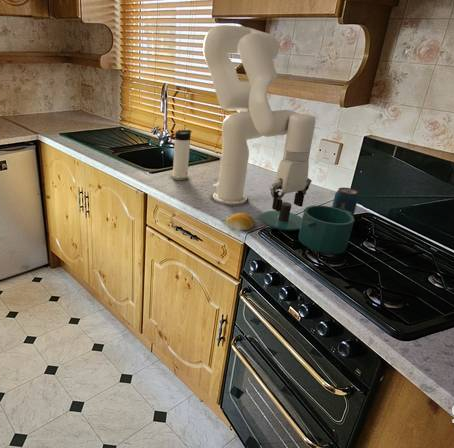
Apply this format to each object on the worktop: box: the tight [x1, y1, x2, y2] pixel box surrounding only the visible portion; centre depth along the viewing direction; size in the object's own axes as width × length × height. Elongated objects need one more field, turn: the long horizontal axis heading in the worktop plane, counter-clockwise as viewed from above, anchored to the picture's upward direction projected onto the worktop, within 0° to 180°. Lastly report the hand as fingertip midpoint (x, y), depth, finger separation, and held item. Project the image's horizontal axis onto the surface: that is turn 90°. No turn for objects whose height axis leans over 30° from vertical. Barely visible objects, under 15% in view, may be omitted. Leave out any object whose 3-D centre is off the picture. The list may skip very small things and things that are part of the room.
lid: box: [259, 201, 303, 232], centre depth 132 cm, size 15×15×7 cm
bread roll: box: [225, 212, 255, 231], centre depth 129 cm, size 8×9×4 cm
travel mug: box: [171, 129, 193, 181], centre depth 166 cm, size 6×7×20 cm
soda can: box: [331, 187, 359, 217], centre depth 132 cm, size 7×7×12 cm
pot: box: [298, 205, 355, 256], centre depth 119 cm, size 14×19×10 cm
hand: (287, 207), depth 130 cm, fingers open, 9 cm apart
